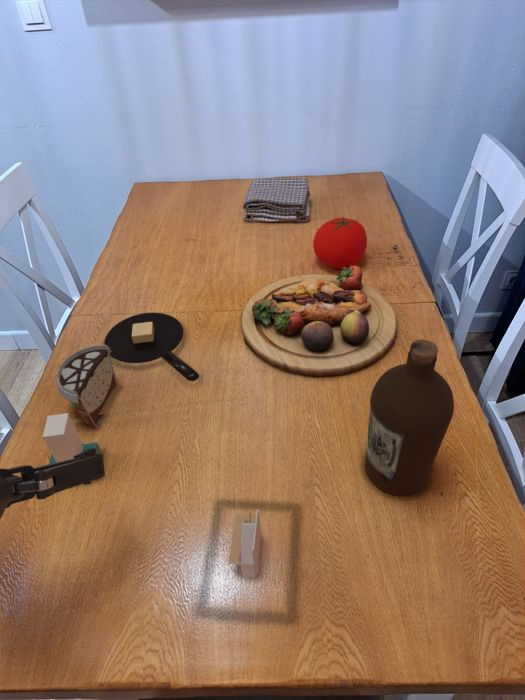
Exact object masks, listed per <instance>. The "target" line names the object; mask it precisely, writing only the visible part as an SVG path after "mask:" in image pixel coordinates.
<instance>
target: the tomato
mask: <svg viewBox="0 0 525 700" xmlns="http://www.w3.org/2000/svg"><path fill="white" fill-rule="evenodd" d="M312 246H313V252H314V255H315V256H316V257H317V259H318V260H319V261H321V263H323V264H325V265H326V266H328V267H331V268H333V269H339V270H343V269H342V268H344V266H345V267H346V268H347V269H348V268H349V267H350V265H351V266H357V264H358V263H359V262H360V261H361V260H362V259H363V257H364V254H365V253H366V250H367V248H368V247H367V246H368V237H367V232H366V229H365V227H364V226H363V224H362V223H360V222H359V221H358V220H355V219H353V218H348V217H344V216H342V217H336V218H333V219H330V220H328V221H326V222H324V223H322V225H321V226H320V227H319V228H318V229H317V231H316V232H315V234H314V238H313V240H312Z"/></svg>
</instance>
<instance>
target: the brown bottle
mask: <svg viewBox="0 0 525 700" xmlns="http://www.w3.org/2000/svg"><path fill="white" fill-rule="evenodd" d="M438 353H439V348H438V346H437V344H436V343H434V341H433V342H432V341H431V340H428V339H416V340H414V341H412V343H411V344H410V347H409V351H408V353H407V357H406V362H405V363H402V364H399V365H395V366H393V367H391V368H389V369H388V370H386V371H384V372H383V373H382V374H381V375H380V377H379V378H378V379H377V381H376V382H375V384H374V386H373V388H372V390H371V395H370V397H369V413H368V414H369V415H368V428H367V429H368V430H367V440H366V451H365V461H364V470H365V474H366V476H367V479H369V481H370V483H371V484H372V485H373V486H374V487H375V488H376V489H378V490H380V491H381V492H383V493H385V494H388V495H390V496H395V497H408V496H412V495H414V494H417V493H419V492H420V491H421V490H423V488H425V485H426V483H427V482H428V479H429V477H430V474H431V470H432V469H433V466H434V463H435V460H436V458H437V455H438V453H439V450H440V448H441V445H442V443H443V440H444V438H445V436H446V434H447V431H448V429H449V426H450V425H451V421H452V420H453V416H454V412H455V399H454V395H453V390H452V388H451V386H450V385H449V382H448V381H447V380H446V378H444V377H443V376H442V374H440V373H439V372H438V371H436V370H435V367H436V363H437V360H438V357H437V356H438Z"/></svg>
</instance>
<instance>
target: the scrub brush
mask: <svg viewBox="0 0 525 700" xmlns="http://www.w3.org/2000/svg"><path fill="white" fill-rule="evenodd" d="M46 417H47V418H46V422H45V426H44V430H43V434H42V439H43V440H44V443H45V445H46V446H47V449H48V450H49V451H50V453H51V454H50V458H49V461H48V464H52V463H57V462H61V461H65V460H70V459H74V458H73V456H75V455H78V454H80V453H82V452H84V451H86V450H88V449H93V448H95V450H96V454H102V455H103V453H102V450H101V448H100V445H99V443H98V442H97V441H96V442H95V441H94V442H88V443H83V440H82V439H81V437H80V435H79V433H78V431H77V428H76V427H75V424H74V422H73V420H72V418H71V416H70V414H69V412H67V413H58V414H51V415H47V416H46ZM99 479H100V478H98V479H97V480H99Z"/></svg>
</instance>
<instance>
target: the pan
mask: <svg viewBox="0 0 525 700" xmlns="http://www.w3.org/2000/svg"><path fill="white" fill-rule="evenodd" d="M145 322H153V326H154V341H151V342H143V343H135V344H134V343H133V339H132V327H133V324H137V323H145ZM183 338H184V327H183V325H182V322H180V321H179V320H178V319H177V318H176V317H174V316H172V315H170V314H167V313H162V312H143V313H138V314H134V315H131V316H129V317H126V318H125V319H124V318H123V319H122V320H120V321H119V322H118V323H116V324H115V325H114V326H113V327H111V328H110V330H108V332H107V334H106V336H105V338H104V342H103V345H107V346H108V347H109V348H110V350H111V353H110V357H111V359H114V360H116V361H118V362H122V363H127V364H143V363H149V362H154V361H156V360H159V359H163V361H164V362H166V363H167V364H168V365H170V367H172V368H173V369H174V370H175V371H177V372H178V373H179V374H180V375H181V376H182V377H184V378H185V379H186V380H187V381H189V382H195V381H197V380H198V379H199V378H200V374H199V373H198V372H197V371H196V370H195V369H194V368H192V367H191V366H190V365H189V364H188V363H186V362H185V361H184V360H183V359H182V358H180V357H179V356H178V355H176V354H175V353H174V352H173V351H174V350H175V349H176V348H177V347H178V346H179V345H180V343H181V342H182V340H183Z"/></svg>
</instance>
